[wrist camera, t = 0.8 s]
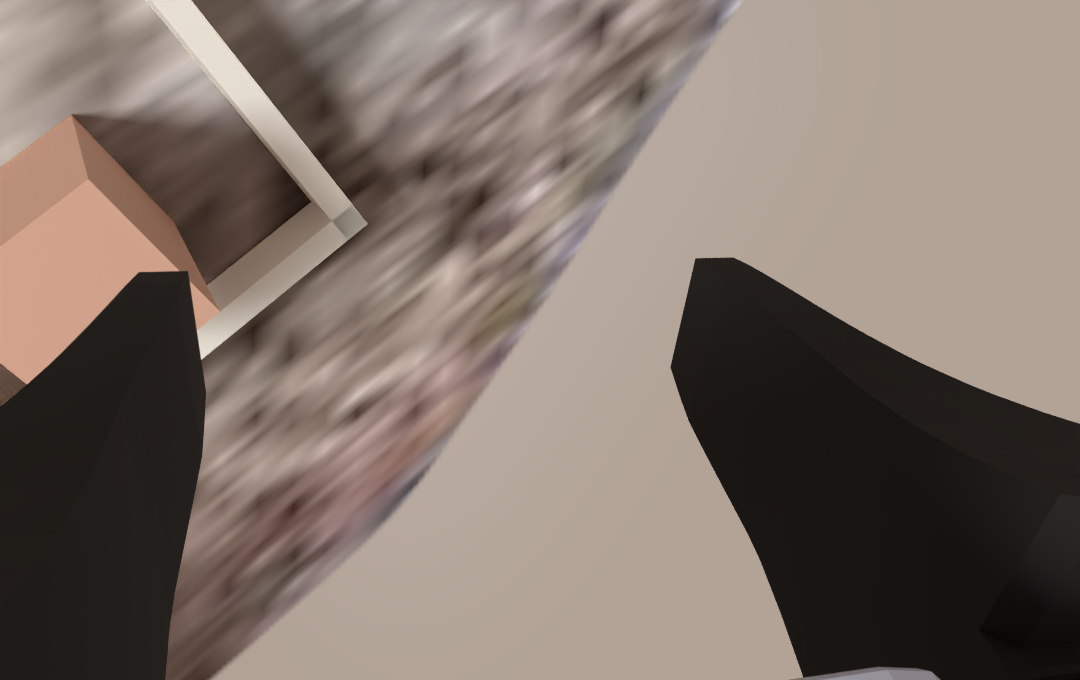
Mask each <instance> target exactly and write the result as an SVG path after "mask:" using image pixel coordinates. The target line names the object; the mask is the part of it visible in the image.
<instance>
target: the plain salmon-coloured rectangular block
mask: <svg viewBox="0 0 1080 680" xmlns="http://www.w3.org/2000/svg"><path fill="white" fill-rule="evenodd" d="M164 271H188V274H189V280H190V287H191V294H192V301H193V308H194V315H195V321H196V328H197V330H198V329H199V328H200V327H202V326H203V325H204V324H205V323H207V322H208V321H209V320H210V319H212V318H213V317H214V316H215V315H217V314H218V313H219V312H220V310H219V309H218V307H217V305H216V303H215V301H214V299H213V297H212V295H211V293H210V291H209V289H208V287H207V285H206V283H205V281H204V280H203V278H202V276H201V274H200V272H199V270H198V268H197V266H196V264H195V262H194V260H193V258H192V256H191V254H190V252H189V251H188V249H187V247H186V245H185V243H184V241H183V239H182V237H181V235H180V233H179V231H178V229H177V227H176V225H175V223H174V221H173V220H172V219H171V218H170V217H169V216H168V215H167V214H166V213H165V212H164V211H163V210H162V209H161V208H160V207H159V206H158V205H157V204H156V202H155V201H154V200H153V199H152V198H151V197H150V196H149V195H148V194H147V193H146V192H145V191H144V190H143V189H142V188H141V187H140V186H139V185H138V184H137V183H136V182H135V181H134V180H133V178H132V177H131V176H130V175H129V174H128V173H127V172H126V171H125V170H124V169H123V168H122V167H121V166H120V165H119V164H118V163H117V162H116V161H115V160H114V159H113V158H112V157H111V155H110V154H109V153H108V152H107V151H106V150H105V149H104V148H103V147H102V146H101V145H100V144H99V143H98V142H97V141H96V140H95V139H94V138H93V137H92V136H91V135H90V134H89V132H88V131H87V130H86V129H85V128H84V127H83V126H82V125H81V124H80V123H79V122H78V121H77V120H76V119H75V118H74V117H73V116H72V115H70V116H69V117H67V118H66V119H65V120H63V121H62V122H61V123H59V124H58V125H57V126H55V127H54V128H53V129H51V130H50V131H49V132H47V133H46V134H45V135H43V136H42V137H41V138H39V139H38V140H37V141H35V142H34V143H33V144H31V145H30V146H29V147H27V148H26V149H25V150H23V151H22V152H21V153H19V154H18V155H17V156H15V157H14V158H13V159H11V160H10V161H9V162H7V163H6V164H5V165H3V166H2V167H1V168H0V364H2V365H3V366H4V367H6V368H7V369H8V370H9V371H11V372H12V373H13V374H14V375H16V376H17V377H18V378H19V379H21V380H22V381H23V382H24V383H26V384H28V383H29V382H30V381H31V380H33V379H34V378H35V377H36V376H37V375H38V374H39V373H40V372H41V371H43V370H44V369H45V368H46V367H47V366H48V365H49V364H50V363H51V362H52V361H53V360H55V359H56V358H57V357H58V356H59V355H60V354H61V353H62V352H63V351H64V350H65V349H66V348H67V347H68V346H69V345H70V344H71V343H72V342H73V341H74V340H75V339H76V337H77V336H78V335H79V334H80V333H81V332H82V331H83V330H84V329H85V328H86V327H87V326H88V325H89V324H90V323H91V322H92V321H93V320H94V319H95V318H96V317H97V316H98V315H99V314H100V312H101V311H102V310H103V309H104V308H105V307H106V306H107V305H108V304H109V303H110V302H111V301H112V299H113V298H114V297H115V296H116V295H117V294H118V293H119V292H120V291H121V290H122V289H123V288H124V286H125V285H126V284H127V283H128V282H129V281H130V280H131V279H132V278H133V277H134V276H135V275H136V274H137V273H138V272H164Z"/></svg>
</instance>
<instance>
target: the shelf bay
mask: <svg viewBox="0 0 1080 680" xmlns="http://www.w3.org/2000/svg"><path fill="white" fill-rule="evenodd" d="M146 1H147V3H148V4H149V5H150V6H151V7H152V9H153V10H154V11H155V12H156V14H157V15H158V16H159V17H160V18H161V20H162V21H163V22H164V23H165V24H166V26H167V27H168V28H169V29H170V31H171V32H172V33H173V34H174V35H175V37H176V38H177V39H178V40H179V41H180V43H181V44H182V45H183V46H184V48H185V49H186V50H187V51H188V52H189V54H190V55H191V56H192V57H193V58H194V60H195V61H196V62H197V63H198V65H199V66H200V67H201V68H202V69H203V71H204V72H205V73H206V74H207V76H208V77H209V78H210V79H211V80H212V82H213V83H214V84H215V85H216V86H217V88H218V89H219V90H220V91H221V93H222V94H223V95H224V96H225V97H226V99H227V100H228V101H229V102H230V103H231V105H232V106H233V107H234V108H235V110H236V111H237V112H238V113H239V114H240V116H241V117H242V118H243V119H244V120H245V122H246V123H247V124H248V125H249V127H250V128H251V129H252V130H253V131H254V133H255V134H256V135H257V136H258V138H259V139H260V140H261V141H262V142H263V144H264V145H265V146H266V147H267V148H268V150H269V151H270V152H271V153H272V155H273V156H274V157H275V158H276V159H277V161H278V162H279V163H280V164H281V165H282V167H283V168H284V169H285V170H286V172H287V173H288V174H289V175H290V176H291V178H292V179H293V180H294V181H295V182H296V184H297V185H298V186H299V187H300V189H301V190H302V191H303V192H304V193H305V195H306V196H307V197H308V198H309V200H310V201H311V202H310V203H309V204H308V205H307V206H305V207H304V208H303V209H302V210H300V211H299V212H298V213H297V214H295V215H294V216H293V217H292V218H290V219H289V220H288V221H287V222H285V223H284V224H283V225H282V226H280V227H279V228H278V229H277V230H275V231H274V232H273V233H272V234H270V235H269V236H268V237H267V238H265V239H264V240H263V241H262V242H260V243H259V244H258V245H257V246H255V247H254V248H253V249H252V250H250V251H249V252H248V253H247V254H245V255H244V256H243V257H242V258H240V259H239V260H238V261H237V262H235V263H234V264H233V265H232V266H230V267H229V268H228V269H227V270H225V271H224V272H223V273H222V274H221V275H219V276H218V277H217V278H216V279H214V280H213V281H212V282H211V283H209V284H208V285H207V287H208V289H209V291H210V293H211V295H212V297H213V299H214V301H215V303H216V305H217V307H218V309H219V310H220V312H219V313H218V314H217V315H215V316H214V317H213V318H212V319H210V320H209V321H208V322H207V323H205V324H204V325H203V326H202V327H200V328H199V329H198V330H197V335H198V342H199V349H200V355H201V360H202V359H203V358H204V357H205V356H207V355H208V354H209V353H210V352H212V351H213V350H214V349H215V348H216V347H218V346H219V345H220V344H221V343H223V342H224V341H225V340H226V339H227V338H229V337H230V336H231V335H232V334H234V333H235V332H236V331H237V330H239V329H240V328H241V327H242V326H243V325H245V324H246V323H247V322H248V321H250V320H251V319H252V318H253V317H254V316H256V315H257V314H258V313H259V312H261V311H262V310H263V309H264V308H266V307H267V306H268V305H269V304H270V303H272V302H273V301H274V300H275V299H277V298H278V297H279V296H280V295H281V294H283V293H284V292H285V291H286V290H288V289H289V288H290V287H291V286H292V285H294V284H295V283H296V282H297V281H299V280H300V279H301V278H302V277H304V276H305V275H306V274H307V273H308V272H310V271H311V270H312V269H313V268H315V267H316V266H317V265H318V264H319V263H321V262H322V261H323V260H324V259H326V258H327V257H328V256H329V255H330V254H332V253H333V252H334V251H335V250H337V249H338V248H339V247H340V246H342V245H343V244H344V243H345V242H346V241H348V240H349V239H350V238H351V237H353V236H354V235H355V234H356V233H357V232H359V231H360V230H361V229H362V228H364V227H365V226H366V225H367V222H366V221H365V220H364V218H363V217H362V216H361V215H360V213H359V212H358V211H357V210H356V208H355V207H354V206H353V205H352V203H351V202H350V201H349V199H348V198H347V197H346V196H345V194H344V193H343V192H342V191H341V189H340V188H339V187H338V186H337V184H336V183H335V182H334V180H333V179H332V178H331V177H330V175H329V174H328V173H327V172H326V170H325V169H324V168H323V167H322V165H321V164H320V163H319V161H318V160H317V159H316V158H315V156H314V155H313V154H312V153H311V151H310V150H309V149H308V147H307V146H306V145H305V144H304V142H303V141H302V140H301V139H300V137H299V136H298V135H297V134H296V132H295V131H294V130H293V128H292V127H291V126H290V125H289V123H288V122H287V121H286V120H285V118H284V117H283V116H282V115H281V113H280V112H279V111H278V109H277V108H276V107H275V106H274V104H273V103H272V102H271V101H270V99H269V98H268V97H267V96H266V94H265V93H264V92H263V90H262V89H261V88H260V87H259V85H258V84H257V83H256V82H255V80H254V79H253V78H252V77H251V75H250V74H249V73H248V71H247V70H246V69H245V68H244V66H243V65H242V64H241V63H240V61H239V60H238V59H237V58H236V56H235V55H234V54H233V52H232V51H231V50H230V49H229V47H228V46H227V45H226V44H225V42H224V41H223V40H222V39H221V37H220V36H219V35H218V33H217V32H216V31H215V30H214V28H213V27H212V26H211V25H210V23H209V22H208V21H207V20H206V18H205V17H204V16H203V14H202V13H201V12H200V11H199V9H198V8H197V7H196V6H195V4H194V3H193V2H192V1H191V0H146Z"/></svg>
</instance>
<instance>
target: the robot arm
mask: <svg viewBox="0 0 1080 680" xmlns="http://www.w3.org/2000/svg"><path fill="white" fill-rule="evenodd" d="M671 370H672V373H673V376H674V379H675V382H676V385H677V389H678V392H679V395H680V398H681V401H682V403H683V406H684V409H685V412H686V414H687V417H688V420H689V422H690V424H691V426H692V428H693V430H694V432H695V434H696V436H697V438H698V440H699V442H700V444H701V446H702V448H703V450H704V452H705V454H706V456H707V457H708V459H709V461H710V463H711V465H712V467H713V469H714V471H715V473H716V475H717V477H718V478H719V480H720V482H721V484H722V486H723V488H724V490H725V492H726V494H727V495H728V497H729V499H730V501H731V503H732V505H733V507H734V509H735V511H736V512H737V514H738V516H739V518H740V520H741V522H742V524H743V526H744V528H745V529H746V531H747V533H748V535H749V537H750V539H751V542H752V544H753V546H754V548H755V550H756V552H757V554H758V556H759V559H760V561H761V563H762V566H763V569H764V571H765V574H766V576H767V579H768V581H769V584H770V587H771V589H772V592H773V594H774V597H775V600H776V602H777V605H778V607H779V610H780V612H781V615H782V618H783V620H784V624H785V626H786V629H787V632H788V635H789V638H790V641H791V643H792V646H793V649H794V652H795V655H796V657H797V660H798V663H799V666H800V669H801V672H802V675H803V678H798V679H792V680H1080V424H1078V423H1075V422H1072V421H1069V420H1065V419H1062V418H1059V417H1056V416H1053V415H1050V414H1046V413H1043V412H1041V411H1038V410H1035V409H1032V408H1029V407H1027V406H1024V405H1021V404H1018V403H1015V402H1013V401H1010V400H1007V399H1005V398H1002V397H999V396H996V395H993V394H991V393H989V392H986V391H984V390H981V389H979V388H976V387H973V386H971V385H969V384H966V383H964V382H962V381H960V380H957V379H955V378H953V377H951V376H948V375H946V374H944V373H942V372H939V371H937V370H935V369H933V368H931V367H928V366H926V365H924V364H922V363H920V362H918V361H916V360H913V359H912V358H909V357H908V356H906V355H904V354H902V353H900V352H898V351H896V350H894V349H892V348H891V347H889V346H887V345H885V344H883V343H881V342H879V341H877V340H876V339H874V338H872V337H870V336H868V335H866V334H865V333H863V332H861V331H859V330H857V329H856V328H854V327H852V326H850V325H848V324H847V323H845V322H844V321H842V320H840V319H838V318H837V317H835V316H833V315H832V314H830V313H828V312H827V311H825V310H823V309H822V308H820V307H818V306H817V305H815V304H813V303H812V302H810V301H809V300H807V299H805V298H803V297H802V296H800V295H799V294H797V293H795V292H794V291H792V290H791V289H789V288H787V287H786V286H784V285H782V284H780V283H779V282H777V281H775V280H774V279H772V278H770V277H769V276H767V275H765V274H764V273H762V272H760V271H758V270H757V269H755V268H753V267H751V266H749V265H747V264H746V263H743V262H741V261H739V260H737V259H735V258H699V259H698V258H696V259H695V263H694V267H693V272H692V276H691V280H690V285H689V289H688V294H687V298H686V302H685V307H684V311H683V315H682V320H681V324H680V328H679V333H678V337H677V342H676V346H675V350H674V354H673V359H672V363H671ZM205 400H206V390H205V383H204V376H203V369H202V362H201V355H200V349H199V342H198V335H197V328H196V321H195V315H194V308H193V301H192V294H191V287H190V280H189V274H188V271H164V272H138V273H137V274H136V275H135V276H134V277H133V278H132V279H131V280H130V281H129V282H128V283H127V284H126V285H125V286H124V288H123V289H122V290H121V291H120V292H119V293H118V294H117V295H116V296H115V297H114V298H113V299H112V301H111V302H110V303H109V304H108V305H107V306H106V307H105V308H104V309H103V310H102V311H101V312H100V314H99V315H98V316H97V317H96V318H95V319H94V320H93V321H92V322H91V323H90V324H89V325H88V326H87V327H86V328H85V329H84V330H83V331H82V332H81V333H80V334H79V335H78V336H77V337H76V339H75V340H74V341H73V342H72V343H71V344H70V345H69V346H68V347H67V348H66V349H65V350H64V351H63V352H62V353H61V354H60V355H59V356H58V357H57V358H56V359H55V360H53V361H52V362H51V363H50V364H49V365H48V366H47V367H46V368H45V369H44V370H43V371H41V372H40V373H39V374H38V375H37V376H36V377H35V378H34V379H33V380H31V381H30V382H29V383H28V384H27V385H26V386H25V387H24V388H22V389H21V390H20V391H19V392H18V393H17V394H16V395H15V396H13V397H12V398H11V399H10V400H9V401H7V402H6V403H5V404H4V405H2V406H1V407H0V680H165V673H166V662H167V650H168V639H169V627H170V619H171V613H172V606H173V600H174V593H175V588H176V583H177V578H178V573H179V568H180V564H181V559H182V554H183V549H184V544H185V539H186V534H187V529H188V524H189V519H190V514H191V509H192V505H193V500H194V494H195V489H196V484H197V479H198V474H199V469H200V464H201V458H202V450H203V436H204V419H205Z"/></svg>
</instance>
